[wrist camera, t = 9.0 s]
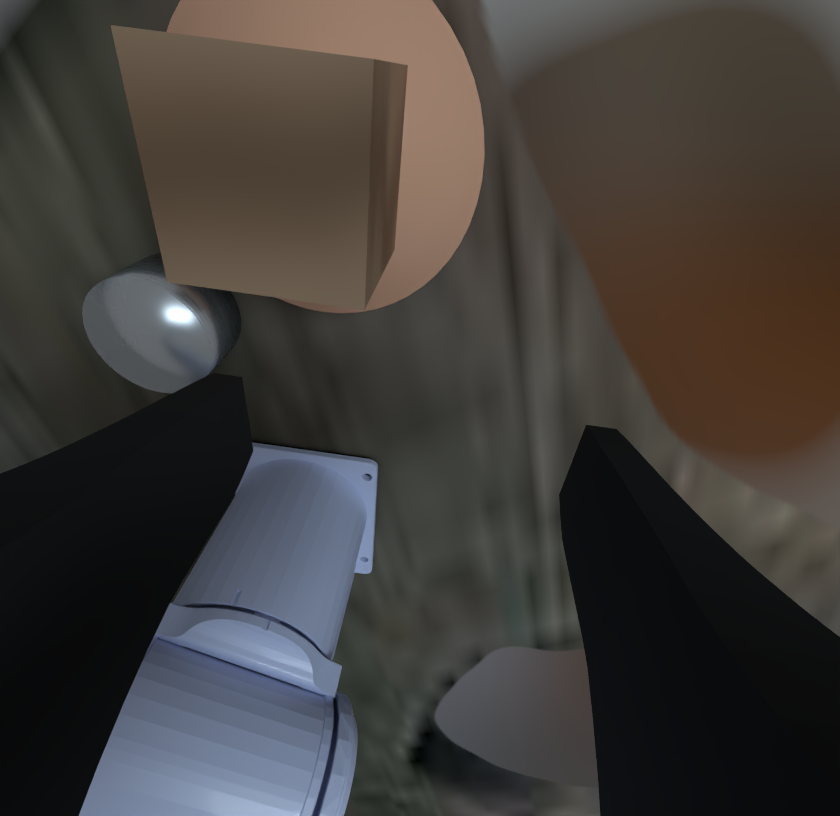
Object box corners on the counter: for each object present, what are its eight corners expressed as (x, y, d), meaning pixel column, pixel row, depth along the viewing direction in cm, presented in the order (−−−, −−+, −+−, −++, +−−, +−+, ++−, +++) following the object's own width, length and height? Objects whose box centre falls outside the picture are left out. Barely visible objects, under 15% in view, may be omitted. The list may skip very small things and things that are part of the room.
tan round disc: (461, 302, 19) (458, 329, 17) (221, 271, 19) (191, 294, 17) (511, -28, 13) (517, -48, 11) (168, -66, 14) (113, -91, 11)
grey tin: (248, 364, 22) (220, 400, 20) (146, 351, 22) (105, 384, 20) (233, 260, 19) (197, 286, 17) (115, 245, 19) (63, 269, 17)
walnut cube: (394, 249, 16) (364, 310, 12) (248, 229, 16) (167, 282, 12) (407, 65, 13) (374, 59, 9) (227, 42, 13) (110, 25, 9)
